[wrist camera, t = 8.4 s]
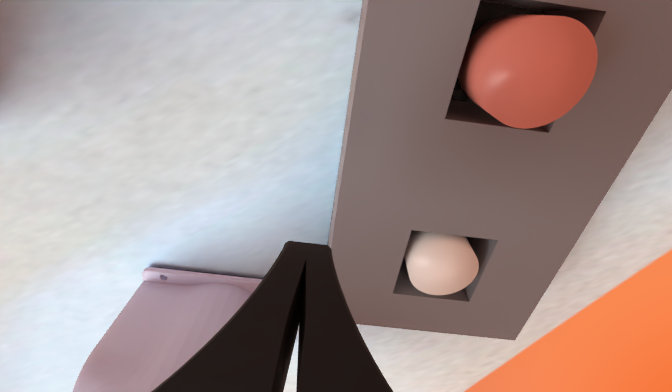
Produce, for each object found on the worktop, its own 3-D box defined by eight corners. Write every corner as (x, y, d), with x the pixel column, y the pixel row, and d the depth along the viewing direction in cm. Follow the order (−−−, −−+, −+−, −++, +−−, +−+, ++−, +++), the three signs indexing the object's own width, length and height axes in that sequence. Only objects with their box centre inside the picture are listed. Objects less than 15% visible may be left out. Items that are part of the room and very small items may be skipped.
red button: (447, 101, 14) (469, 121, 12) (474, 7, 13) (508, 7, 10) (525, 111, 15) (565, 134, 12) (564, 20, 13) (620, 24, 10)
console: (323, 272, 23) (320, 320, 20) (377, -100, 13) (389, -140, 10) (489, 291, 23) (514, 340, 20) (663, -54, 14) (773, -75, 10)
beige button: (394, 255, 21) (401, 291, 18) (408, 207, 19) (418, 239, 16) (450, 261, 21) (465, 298, 18) (469, 214, 19) (489, 247, 16)
